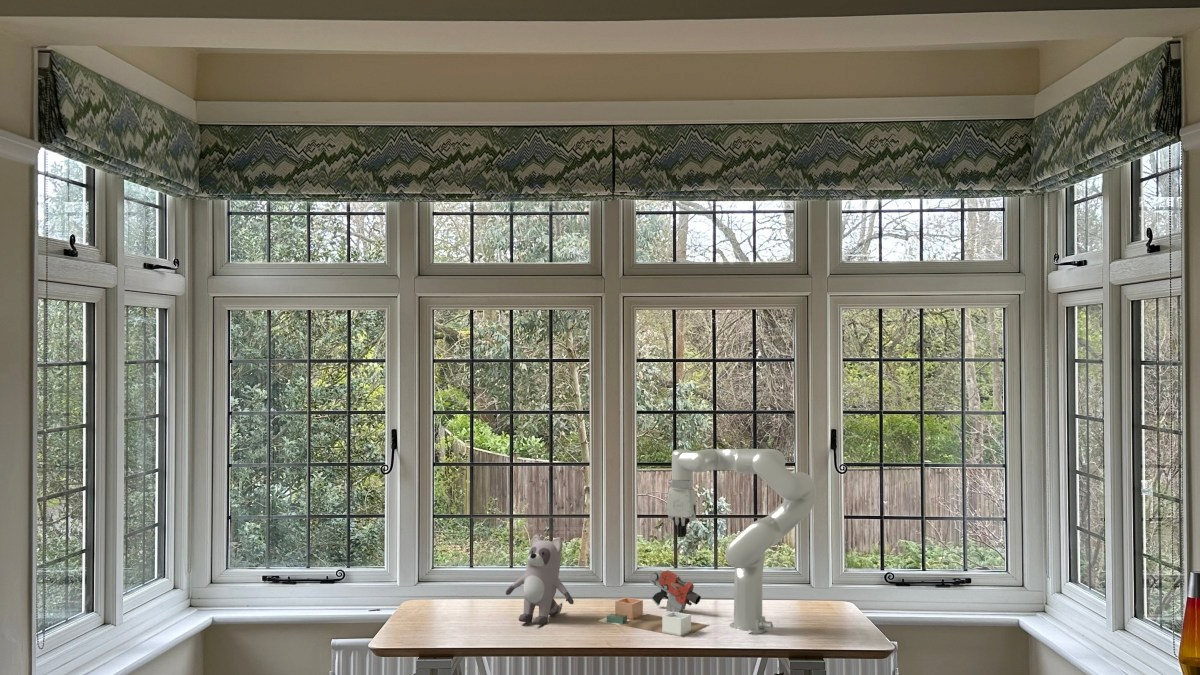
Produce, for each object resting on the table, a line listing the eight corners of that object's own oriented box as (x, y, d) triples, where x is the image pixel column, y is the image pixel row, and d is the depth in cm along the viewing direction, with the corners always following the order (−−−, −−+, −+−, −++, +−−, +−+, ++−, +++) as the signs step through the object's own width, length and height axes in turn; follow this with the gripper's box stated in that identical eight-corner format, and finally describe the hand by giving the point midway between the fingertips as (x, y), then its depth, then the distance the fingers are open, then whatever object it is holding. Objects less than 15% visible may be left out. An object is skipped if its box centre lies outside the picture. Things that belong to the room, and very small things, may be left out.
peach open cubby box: (642, 615, 335) (642, 600, 335) (632, 620, 329) (632, 604, 329) (626, 612, 339) (626, 597, 339) (615, 617, 333) (615, 601, 333)
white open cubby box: (691, 631, 316) (691, 614, 316) (680, 636, 310) (680, 619, 310) (672, 627, 320) (672, 611, 320) (662, 632, 314) (662, 615, 314)
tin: (627, 621, 328) (627, 615, 328) (622, 623, 324) (622, 618, 324) (611, 619, 330) (611, 613, 330) (606, 621, 326) (606, 616, 327)
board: (709, 628, 324) (709, 625, 324) (683, 641, 309) (683, 637, 309) (625, 613, 343) (625, 609, 343) (597, 624, 328) (597, 620, 328)
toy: (514, 632, 317) (514, 545, 317) (504, 615, 338) (504, 534, 338) (574, 627, 323) (574, 542, 323) (560, 611, 343) (560, 530, 343)
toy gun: (686, 627, 336) (698, 589, 334) (642, 600, 348) (653, 563, 346) (692, 625, 339) (704, 587, 337) (648, 598, 351) (659, 561, 349)
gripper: (658, 483, 338) (658, 535, 338) (695, 487, 330) (695, 540, 329) (669, 482, 344) (668, 532, 344) (705, 485, 336) (705, 537, 336)
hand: (681, 536), depth 337 cm, fingers closed
